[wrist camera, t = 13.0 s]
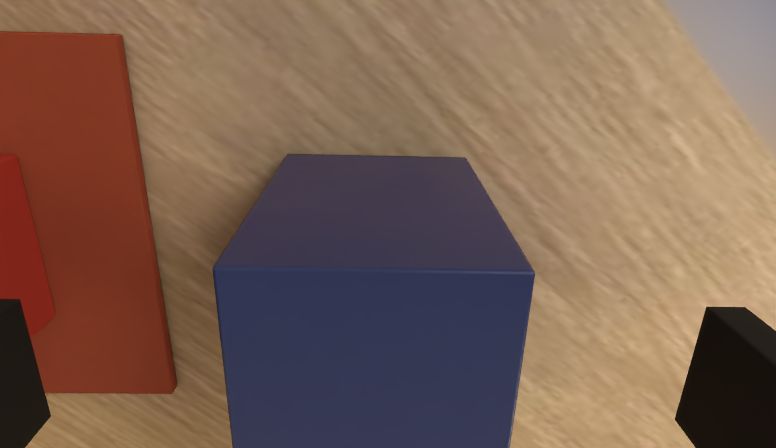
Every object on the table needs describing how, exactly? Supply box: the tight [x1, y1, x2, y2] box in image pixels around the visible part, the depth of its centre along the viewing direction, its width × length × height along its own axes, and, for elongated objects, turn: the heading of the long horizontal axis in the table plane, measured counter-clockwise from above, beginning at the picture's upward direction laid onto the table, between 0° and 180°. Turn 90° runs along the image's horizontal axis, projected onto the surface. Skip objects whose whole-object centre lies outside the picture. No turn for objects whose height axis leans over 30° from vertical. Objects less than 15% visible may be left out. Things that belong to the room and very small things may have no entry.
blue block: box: [213, 154, 535, 448], centre depth 12 cm, size 5×5×7 cm
